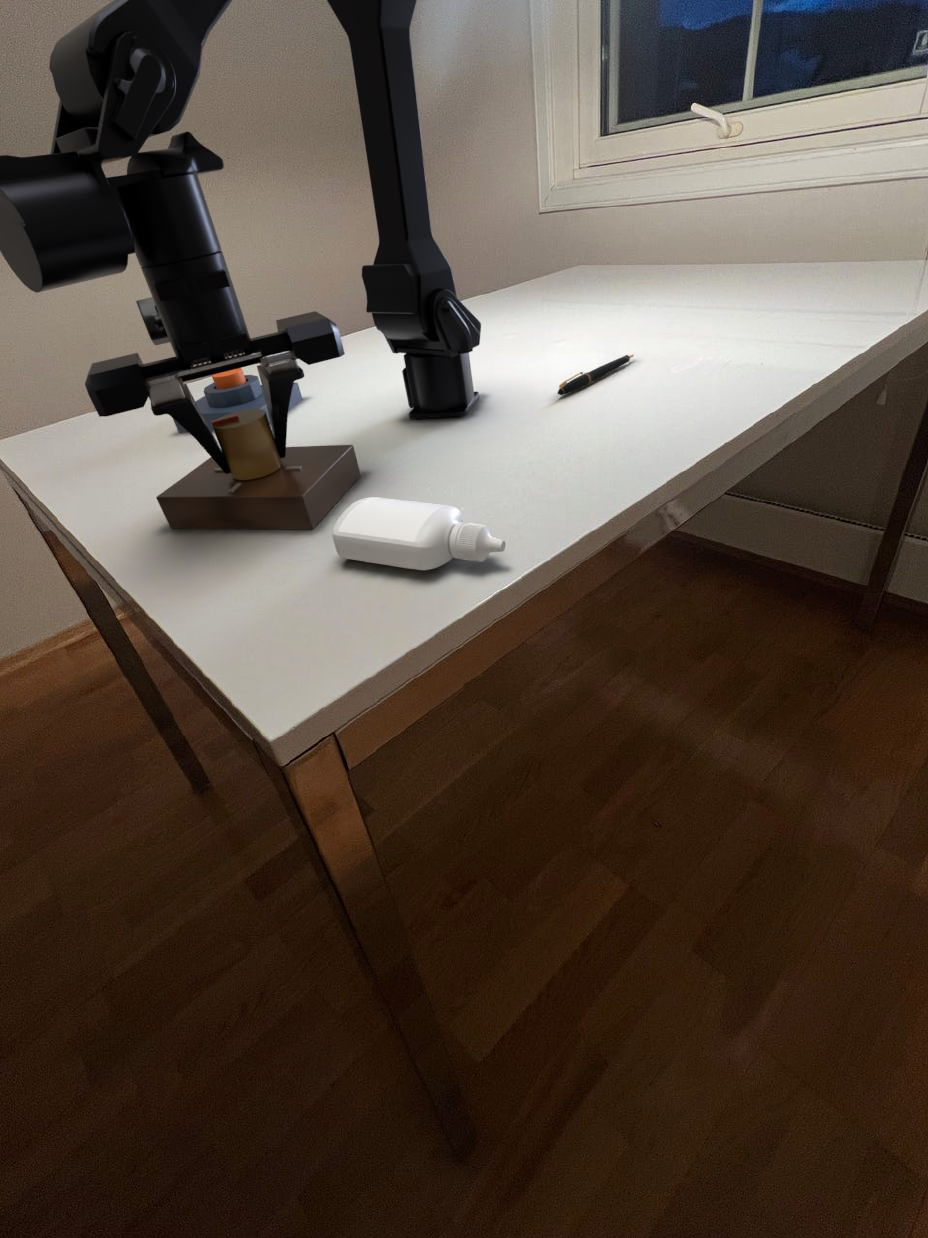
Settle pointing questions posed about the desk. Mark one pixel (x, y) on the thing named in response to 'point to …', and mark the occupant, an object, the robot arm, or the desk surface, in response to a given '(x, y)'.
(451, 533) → the eye dropper bottle
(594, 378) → the fountain pen
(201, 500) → the knob plate
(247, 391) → the button box
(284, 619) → the desk surface
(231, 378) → the orange button
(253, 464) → the brass knob
